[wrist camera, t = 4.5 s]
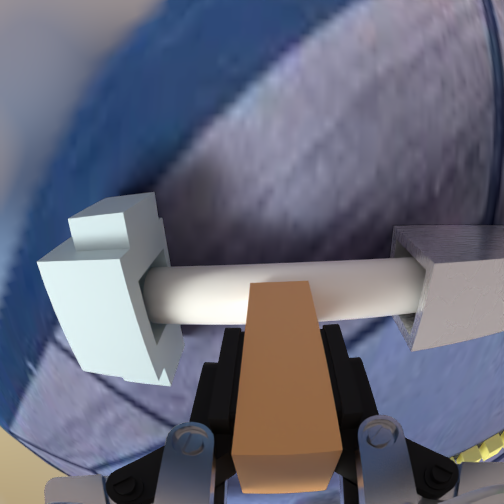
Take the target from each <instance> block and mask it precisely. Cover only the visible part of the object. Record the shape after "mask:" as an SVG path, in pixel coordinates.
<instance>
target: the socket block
mask: <svg viewBox="0 0 504 504" xmlns="http://www.w3.org/2000/svg"><path fill="white" fill-rule="evenodd" d="M68 221H69V226H70V230H71V234H72V237H71V238H69V239H68V240H66V241H65V242H63V243H62V244H61V245H59V246H58V247H56V248H55V249H54V250H52V251H51V252H50V253H48V254H47V255H45V256H44V257H43V258H41V259H40V260H39V261H37V264H38V267H39V270H40V273H41V276H42V279H43V281H44V284H45V287H46V290H47V292H48V295H49V298H50V300H51V303H52V305H53V308H54V310H55V313H56V315H57V317H58V320H59V322H60V324H61V327H62V329H63V331H64V333H65V335H66V338H67V340H68V342H69V344H70V346H71V348H72V350H73V352H74V354H75V356H76V358H77V360H78V362H79V364H80V366H81V368H82V370H83V371H88V372H93V373H99V374H105V375H111V376H117V377H123V378H124V380H125V381H130V382H137V383H146V384H154V385H164V386H171V385H172V382H173V379H174V376H175V373H176V370H177V367H178V364H179V361H180V358H181V355H182V352H183V349H184V346H185V343H184V339H183V335H182V331H181V327H180V326H181V324H159V323H152V322H151V321H150V320H149V318H148V315H147V312H146V308H145V305H144V298H143V290H144V282H145V278H146V275H147V273H148V271H149V270H150V269H151V268H152V267H171V264H170V259H169V253H168V248H167V242H166V236H165V230H164V224H163V218H158V212H157V206H156V199H155V192H150V193H141V194H133V195H125V196H117V197H109V198H105V199H103V200H101V201H99V202H97V203H95V204H94V205H92V206H90V207H88V208H86V209H84V210H83V211H81V212H79V213H77V214H76V215H74V216H72V217H70V218H69V219H68Z"/></svg>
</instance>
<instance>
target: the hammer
mask: <svg viewBox="0 0 504 504" xmlns="http://www.w3.org/2000/svg"><path fill="white" fill-rule="evenodd" d="M425 274H426V269H425V268H424V267H423V266H422V265H421V264H420V263H419V262H418V261H417V260H416V259H415V258H414V257H405V258H385V259H365V260H343V261H320V262H295V263H269V264H241V265H210V266H176V267H152V268H151V269H150V270H149V271H148V273H147V275H146V278H145V282H144V290H143V298H144V305H145V308H146V312H147V315H148V318H149V320H150V321H151V322H152V323H159V324H203V325H235V324H246V326H245V335H244V345H243V354H242V363H241V372H240V381H239V390H238V399H237V408H236V417H235V427H234V436H233V445H232V454H231V455H232V458H233V462H234V465H235V469H236V472H237V475H238V479H239V482H240V485H241V489H242V492H243V493H259V494H269V493H297V492H311V491H321V490H326V488H327V486H328V484H329V481H330V479H331V477H332V475H333V472H334V470H335V468H336V465H337V463H338V460H339V458H340V456H341V453H342V450H343V448H342V442H341V436H340V430H339V425H338V419H337V413H336V408H335V402H334V397H333V392H332V387H331V381H330V376H329V371H328V366H327V361H326V357H325V352H324V347H323V342H322V338H321V333H320V329H319V324H318V322H320V321H335V320H348V319H360V318H371V317H382V316H391V315H400V314H409V313H416V312H417V308H418V304H419V300H420V296H421V292H422V288H423V283H424V278H425Z"/></svg>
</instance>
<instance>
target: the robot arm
mask: <svg viewBox="0 0 504 504" xmlns="http://www.w3.org/2000/svg"><path fill="white" fill-rule="evenodd" d="M320 333H321V338H322V342H323V347H324V352H325V357H326V361H327V366H328V371H329V376H330V381H331V387H332V392H333V397H334V402H335V408H336V413H337V419H338V425H339V430H340V436H341V442H342V448H343V450H342V453H341V456H340V458H339V460H338V463H337V465H336V468H335V470H334V471H335V472H336V473H338V474H339V481H340V502H341V504H504V463H503V462H461V463H460V464H456V463H455V462H454V461H453V460H451V459H450V458H448V457H445V456H443V455H441V454H439V453H436V452H434V451H432V450H430V449H428V448H426V447H423V446H421V445H419V444H417V443H415V442H413V441H411V440H409V439H407V438H405V436H404V432H403V429H402V427H401V425H400V423H399V422H398V421H397V420H395V419H394V418H392V417H390V416H386V415H379V414H378V410H377V407H376V404H375V400H374V397H373V394H372V391H371V387H370V384H369V381H368V378H367V375H366V371H365V368H364V365H363V362H362V360H361V358H360V357H356V358H349V356H348V353H347V350H346V346H345V343H344V340H343V336H342V333H341V330H340V326H339V324H331V325H323V329H320ZM244 335H245V332H241V328H225V331H224V336H223V341H222V346H221V351H220V356H219V361H218V363H210V362H205V363H204V365H203V368H202V372H201V376H200V380H199V384H198V388H197V392H196V396H195V400H194V405H193V409H192V413H191V417H190V421H189V422H185V423H182V424H179V425H177V426H175V427H174V428H173V429H172V430H171V431H170V432H169V433H168V436H167V438H166V442H165V446H163V447H161V448H159V449H157V450H155V451H153V452H152V453H150V454H148V455H146V456H144V457H142V458H140V459H138V460H136V461H134V462H132V463H130V464H128V465H126V466H124V467H122V468H120V469H117V470H116V471H114V472H113V473H111V474H110V476H103V475H101V474H99V475H88V476H72V477H56V478H52V479H51V480H49V481H48V482H47V484H46V485H45V492H44V493H45V504H227V482H228V479H229V478H230V477H232V476H233V475H234V474H236V469H235V465H234V462H233V458H232V455H231V454H232V445H233V436H234V427H235V417H236V408H237V399H238V390H239V381H240V372H241V363H242V354H243V345H244Z"/></svg>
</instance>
